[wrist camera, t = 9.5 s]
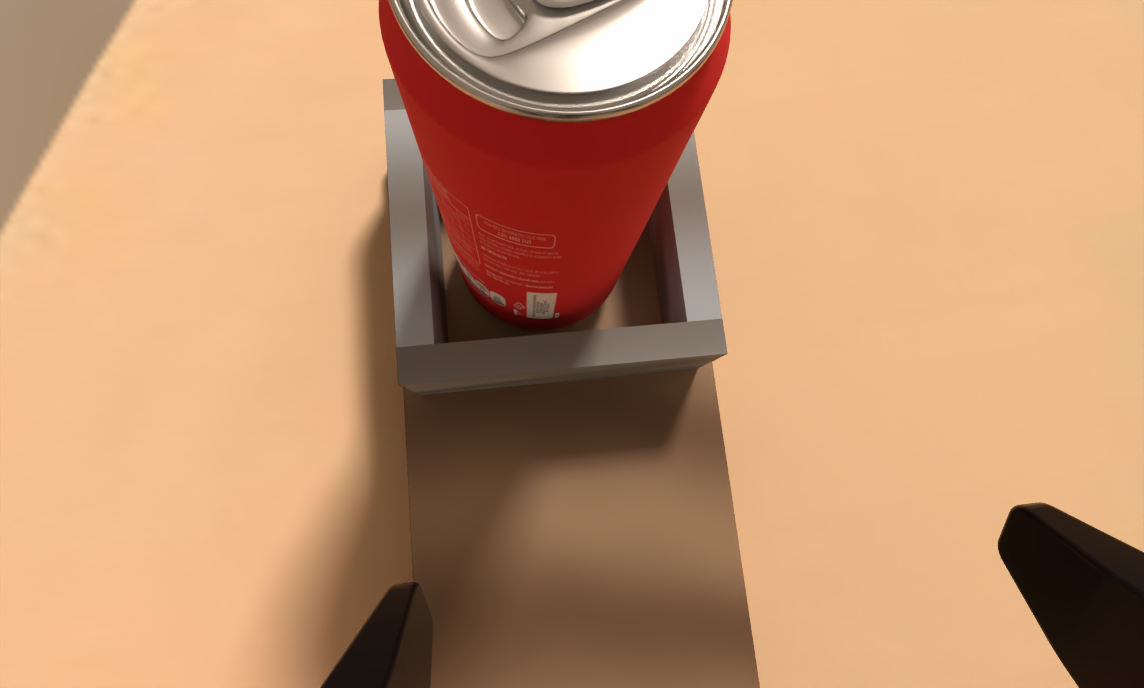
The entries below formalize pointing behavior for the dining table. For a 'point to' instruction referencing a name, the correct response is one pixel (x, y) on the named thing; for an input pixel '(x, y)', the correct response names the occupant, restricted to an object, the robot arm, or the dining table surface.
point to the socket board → (569, 461)
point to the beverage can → (551, 133)
